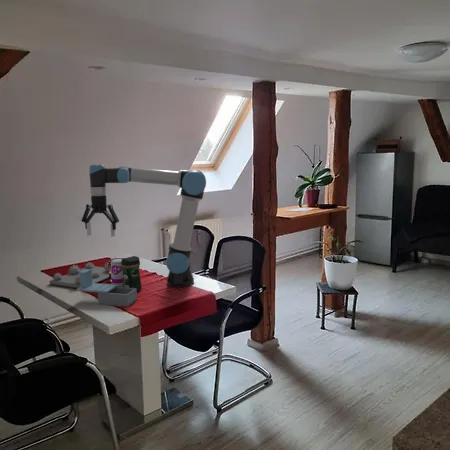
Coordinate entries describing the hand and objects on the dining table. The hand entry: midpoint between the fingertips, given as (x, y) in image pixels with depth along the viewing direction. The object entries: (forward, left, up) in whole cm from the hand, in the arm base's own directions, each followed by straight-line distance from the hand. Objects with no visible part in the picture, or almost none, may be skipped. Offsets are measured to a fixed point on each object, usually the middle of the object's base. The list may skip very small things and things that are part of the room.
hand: (101, 235), depth 234 cm
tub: (-14, +12, -31) cm, 36 cm away
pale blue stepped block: (-3, +12, -24) cm, 27 cm away
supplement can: (-3, -11, -31) cm, 33 cm away
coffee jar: (-13, -6, -31) cm, 34 cm away
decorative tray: (+22, -20, -31) cm, 44 cm away
